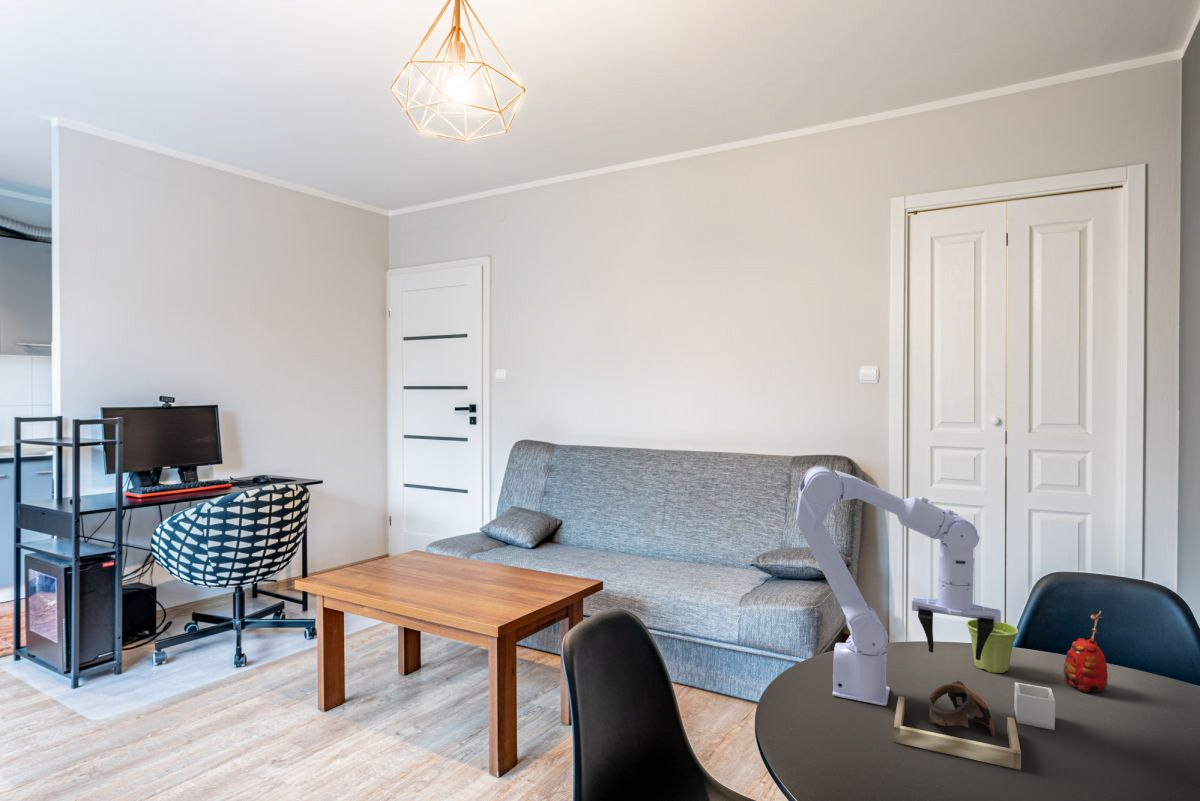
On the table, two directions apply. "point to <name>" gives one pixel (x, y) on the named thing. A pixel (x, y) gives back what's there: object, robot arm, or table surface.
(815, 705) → the table surface
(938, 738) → the birch bay
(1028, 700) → the white square open box
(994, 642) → the plant pot
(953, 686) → the brown hollow curved piece
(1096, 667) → the red clay folk toy
